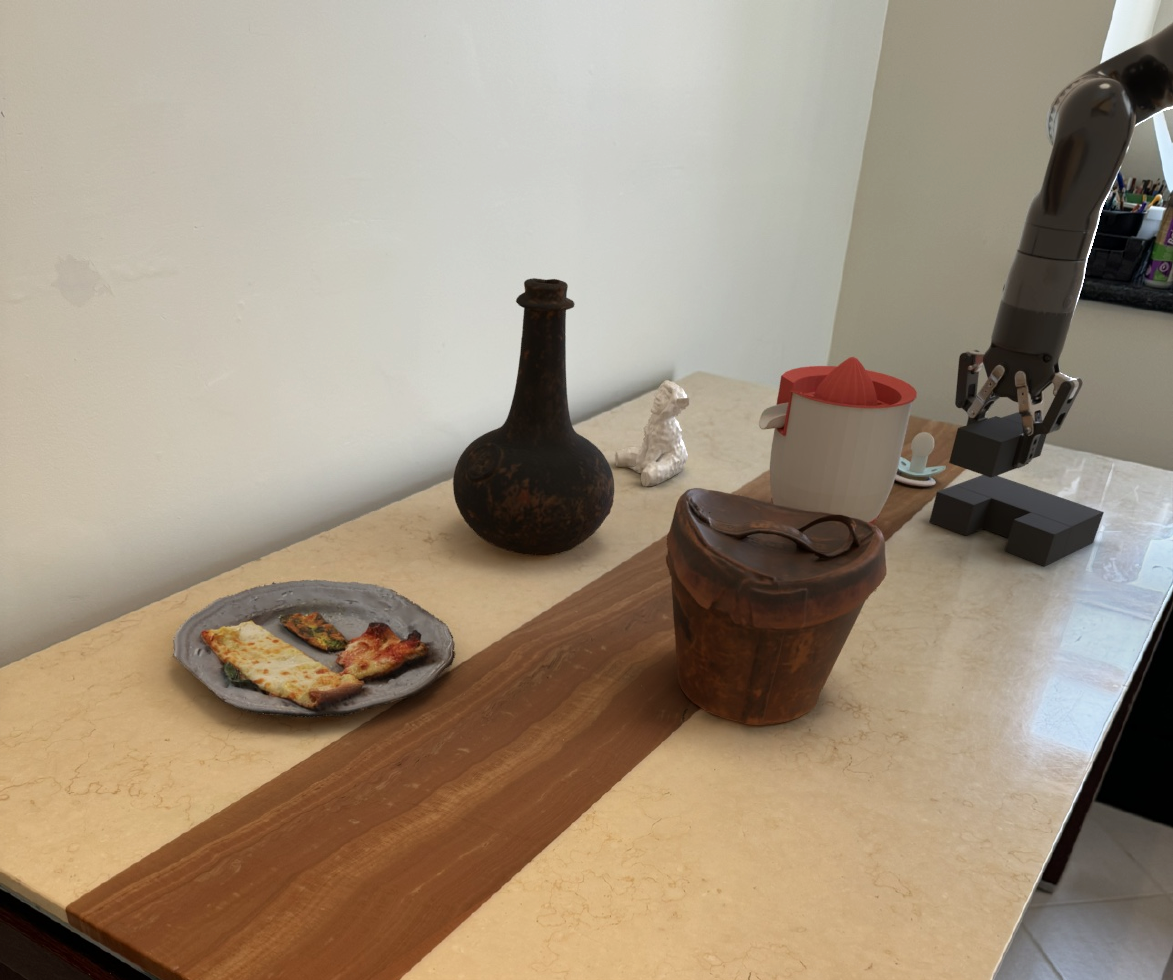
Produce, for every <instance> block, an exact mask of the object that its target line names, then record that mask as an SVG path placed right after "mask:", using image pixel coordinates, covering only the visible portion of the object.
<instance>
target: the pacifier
mask: <svg viewBox="0 0 1173 980" xmlns="http://www.w3.org/2000/svg"><path fill="white" fill-rule="evenodd" d="M934 448H935V439H934V437H933V435H932V434H931V433H929V432H927V431H923V432H919V433H918V434H916V435H915V436H914V437H913V439H912V441H911V444H910V450H911V452H912V454H911V459H910V461H909V460H908V459H906V458H904V457H902V456H901V457H900V462H899V466H898V470H897V473H896V477H895V480H894V481H896V482H899V483H902V484H905V485H910V486H916V487H932V486H935V485H936V480H935V479H934V478H933V477H932V476H935V475H938V474H940V473H942V472H944V471H945V470H946V468H947V466H946V465H936V466H928V467H927V463H928V460H929V459H928V458H929V456H930V455H931V453H932V452H933V450H934Z"/></svg>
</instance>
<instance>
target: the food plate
mask: <svg viewBox="0 0 1173 980" xmlns="http://www.w3.org/2000/svg"><path fill="white" fill-rule="evenodd" d="M172 643H173V654H172V657H174V658H175V659H176V660H177V661H178V663H180V664H181V665H182V666H183V667H185V668H186V669H187V671H188V672H190V673H191V675H192V676H194V677H195V678H196V679H197V680H198V681H199V682H200V683H201V684H204V685H205V687H206V688H208V690H210V691H211V692H213V693H214V694H215V695H216V696H217V697H218V698H219V699H220V700H221V701H223V702H225V703H226V704H229V705H231V706H233V707H235V708H236V709H239V710H244V711H245V712H249V713H253V714H259V715H267V716H270V715H273V716H282V717H285V716H287V717H294V718H297V717H299V718H304V719H305V718H308V719H310V718H314V719H315V718H316V719H317V718H321V717H326V716H327V717H329V716H332V717H333V716H335V717H336V716H337V717H341V716H343V717H344V716H348V715H350V714H355V713H358V712H361V711H366V710H370V709H373V708H377V707H379V706H384V705H386V704H390V703H393V702H396V701H398V700H403V699H408V698H413V697H414V695H417V694H418V693H419V694H420V693H422V691H424V690H426V689H428V688H429V687H430V686H431V685H432V684H434V683H435V682H436V681H437V679H438V678H439V677H440V675H441V674H442V673H443V672H445V670H446V669H448V668H449V667H451V666H452V665H453V663H454V660H455V658H456V651H455V641H454V636H453V634H452V632H451V631H450V628H449V626H448V625H447V623H445V622H444V621H443V620H442V619H440V618H438V617H436V616H435V615H434V614H432V613H430V612H429V611H428V610H426V609H424V608H423V607H421V606H420V605H419V604H417V603H415V602H414V601H412V600H410V598H408V597H406V596H405V595H402V594H398V592H397V591H395V590H394V589H393V588H388V587H384V586H380V585H377V584H372V583H361V582H358V581H351V582H347V581H335V580H334V581H332V580H327V579H324V580H322V579H313V580H311V579H302V580H290V581H284V582H275V581H272V582H271V583H270V584H267V585H266V584H263V585H257V586H254V587H250V588H247V589H245V590H241V591H238V592H237V593H234V594H230V595H229V594H227V595H226V596H223V597H218V598H216V599H215V600H213V601H212V602H210V603H209V604H208V605H206V606H205V607H203V608H201V609H200V610H199V611H197V612H195V613H194V612H193V614H191V616H190V617H188V618H187V619H185V620H184V622H183V623H182V624H181V625H180V626H179V628H178V629H177V630H176V632H175V634H174V637H173V640H172Z"/></svg>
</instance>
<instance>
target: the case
mask: <svg viewBox="0 0 1173 980" xmlns="http://www.w3.org/2000/svg"><path fill="white" fill-rule="evenodd" d="M666 547H667V554H666V556H665V562H666V566H667V569H668V573H669V576H670V578H671V579H670V580H671V581H670V582H671V597H672V598H671V599H672V613H673V615H672V616H673V627H674V628H673V629H674V639H675V640H674V642H675V654H676V669H677V670H676V671H677V680H678V684H679V686H680V688H681V690H682V692H683V694H684V695H685V696H686V697H687V698H688V699H689V700H690V701H691V702H692V703H693V704H695V706H698V707H699V708H701V709H703V710H704V711H706V712H708V713H710V714H712V715H715V716H718V717H720V718H724V719H727V720H730V721H734V722H738V723H741V724H745V725H750V726H765V725H775V724H783V723H787V722H790V721H793V720H795V719H798V718H801V717H803V716H805V715H806V714H808V713H810V712H811V711H812V710H813V709H814V708H815V706H816V705H817V703H818V701H819V699H820V698H819V697H820V695H821V693H822V691H823V689H824V687H825V685H826V683H827V681H828V679H829V678H830V675H831V673H832V670H833V668H834V666H835V665H836V662H837V660H838V658H839V656H840V654H841V653H842V651H843V648H844V647H845V644H846V642H847V640H848V638H849V636H850V634H851V632H852V630H853V627H854V626H855V624H856V622H857V619H858V617H859V615H860V613H861V611H862V609H863V607H864V605H865V603H866V601H867V600H868V599H869V597H870V596H871V595H872V594H873V593H874V592H875V591H876V590H877V589H878V588H879V586H880V585H881V584H882V582H883V581H884V580H885V579H886V576H887V570H888V569H887V561H886V560H887V559H886V540H885V537H884V535H883V533H882V531H881V530H880V528H879V527H877V525H875V524H873V525H872V524H870V523H868V522H866V521H863V520H860V519H857V518H851V517H848V516H844V515H839V514H837V515H836V514H830V513H824V512H814V511H805V510H800V509H795V508H790V507H785V506H778V505H774V504H772V503H769V502H765V501H762V500H758V499H756V498H755V499H754V498H752V497H749V496H743V495H739V494H734V493H728V492H724V491H719V490H712V489H705V488H702V487H701V488H700V487H694V488H689V489H687V490H685V491H684V492H683V493H682V494H681V495H680V496H679V498H678V500H677V502H676V505H675V508H674V511H673V516H672V520H671V524H670V528H669V531H668V532H667V535H666Z"/></svg>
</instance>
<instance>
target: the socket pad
mask: <svg viewBox="0 0 1173 980" xmlns="http://www.w3.org/2000/svg"><path fill="white" fill-rule="evenodd" d="M1103 516H1104V511H1102V510H1099V509H1096V508H1092V507H1090V506H1087V505H1084V504H1081V503H1079V502H1076V501H1072V500H1069V499H1066V498H1064V497H1061V496H1058V495H1055V494H1052V493H1049V492H1046V491H1044V490H1040V489H1038V488H1035V487H1031V486H1029V485H1026V484H1023V483H1019V482H1018V481H1014V480H1012V479H1008V478H1005V477H1003V476H1000V475H997V476H995V477H992V478H991V477H988V476H985V475H982V474H980V475H978V476H976V477H973V478H970V479H968V480H965V481H962V482H959V483H957V484H953V485H951V486H949V487H945V488H943V489H940V490H937V491H936V494H935V497H934V501H933V505H932V509H931V514H930V518H929V523H931V524H934V525H937V526H938V527H942V528H944V529H947V530H949V531H952V532H954V533H957V534H960V535H961V536H964V537H966V536H969V535H972V534H974V533H975V532H978V531H980V530H986V531H988V532H991V533H994V534H996V535H999V536H1002V537H1005V538H1007V542H1006V545H1005V548H1004V552H1006V553H1009V554H1011V555H1013V556H1016V557H1018V558H1021V559H1024V560H1027V561H1029V562H1032V563H1035V564H1037V565H1040V566H1041V567H1046V566H1048V565H1051V564H1053V563H1054V562H1056V561H1057V562H1058V560H1061V559H1062V558H1064V557H1066V556H1069V555H1071V554H1072V553H1075V552H1077V551H1079V550H1081V549H1084V548H1086V547H1087V546H1089V545H1091V544H1093V543H1094V542H1095V540H1096V537H1097V533H1098V530H1099V527H1100V525H1101V522H1102V519H1103Z"/></svg>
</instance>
